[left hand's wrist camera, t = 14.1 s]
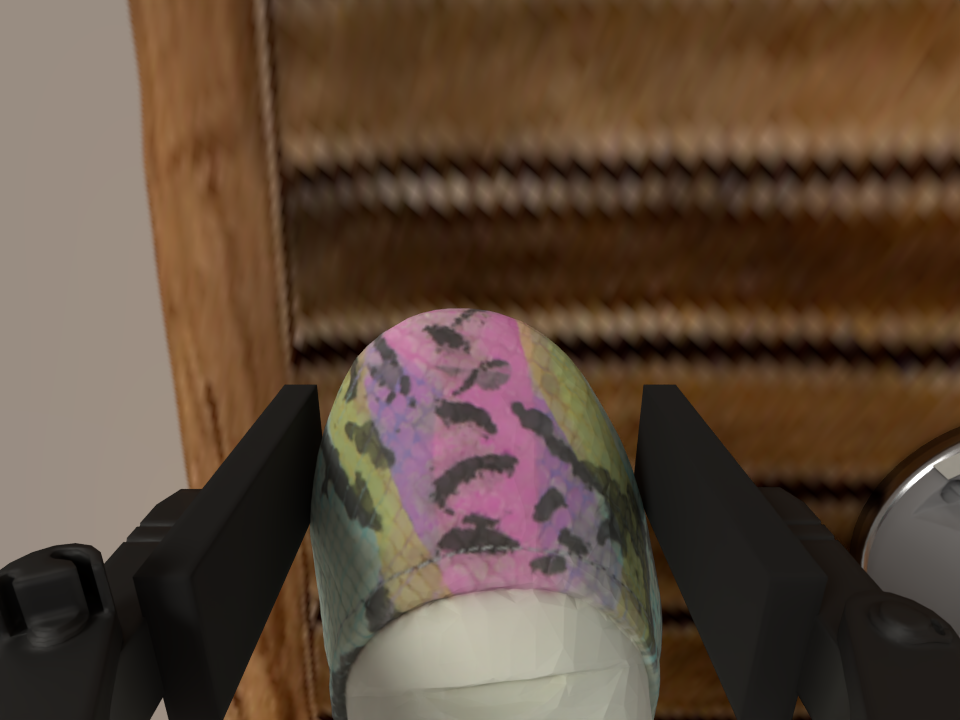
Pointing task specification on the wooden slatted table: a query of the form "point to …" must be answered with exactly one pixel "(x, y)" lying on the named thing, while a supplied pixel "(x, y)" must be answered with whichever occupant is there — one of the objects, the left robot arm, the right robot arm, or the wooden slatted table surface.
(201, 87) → the wooden slatted table surface
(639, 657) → the ballet flat
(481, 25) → the wooden slatted table surface
